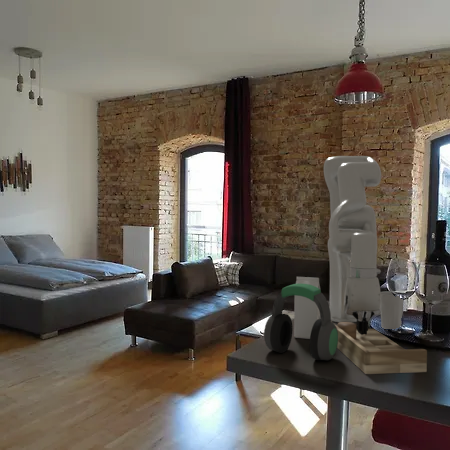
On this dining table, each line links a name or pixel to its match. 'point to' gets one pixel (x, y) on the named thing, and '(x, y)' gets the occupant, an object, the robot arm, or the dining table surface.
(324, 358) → the headphones
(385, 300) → the cup
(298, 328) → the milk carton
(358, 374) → the dining table surface
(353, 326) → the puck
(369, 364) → the wooden compartment tray
